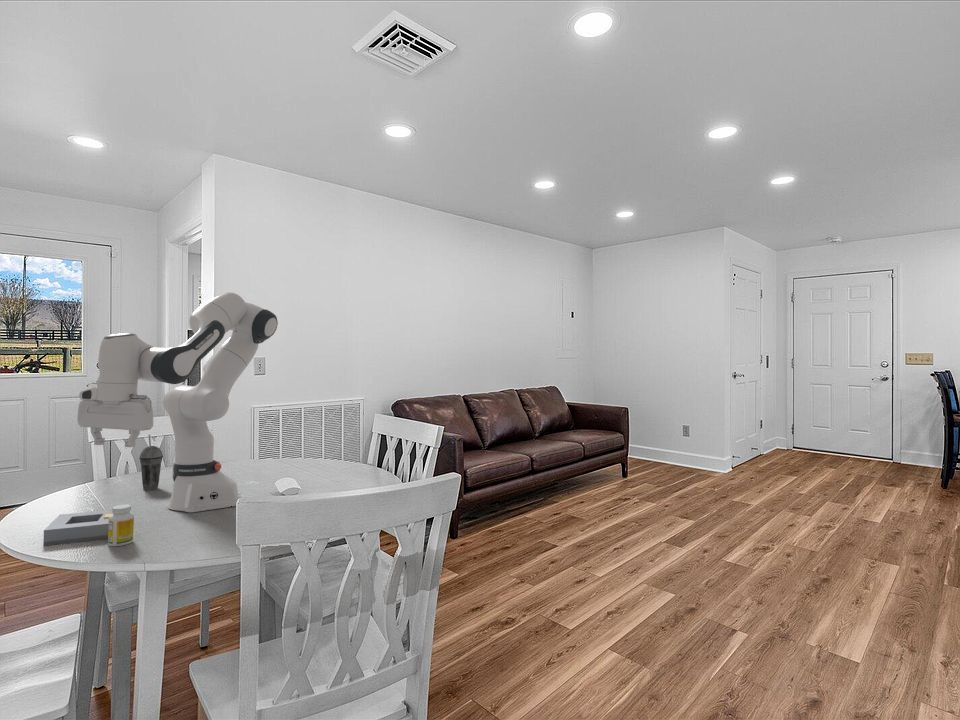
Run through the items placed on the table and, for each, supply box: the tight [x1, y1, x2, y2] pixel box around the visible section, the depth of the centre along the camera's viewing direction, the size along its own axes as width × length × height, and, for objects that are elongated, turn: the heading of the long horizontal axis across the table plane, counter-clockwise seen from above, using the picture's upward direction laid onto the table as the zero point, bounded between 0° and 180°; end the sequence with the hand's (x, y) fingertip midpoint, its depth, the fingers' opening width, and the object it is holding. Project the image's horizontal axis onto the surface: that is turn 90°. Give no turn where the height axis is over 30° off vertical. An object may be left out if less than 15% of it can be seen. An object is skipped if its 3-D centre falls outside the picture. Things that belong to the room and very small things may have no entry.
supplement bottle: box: [107, 503, 135, 547], centre depth 132 cm, size 5×5×10 cm
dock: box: [43, 509, 113, 547], centre depth 138 cm, size 14×14×4 cm
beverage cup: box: [139, 434, 164, 491], centre depth 184 cm, size 7×7×20 cm
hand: (114, 445), depth 134 cm, fingers open, 8 cm apart
